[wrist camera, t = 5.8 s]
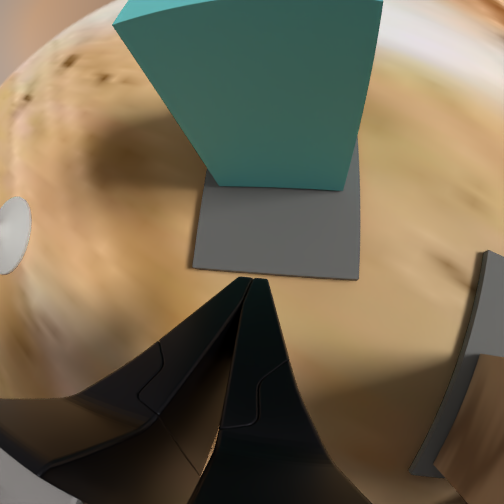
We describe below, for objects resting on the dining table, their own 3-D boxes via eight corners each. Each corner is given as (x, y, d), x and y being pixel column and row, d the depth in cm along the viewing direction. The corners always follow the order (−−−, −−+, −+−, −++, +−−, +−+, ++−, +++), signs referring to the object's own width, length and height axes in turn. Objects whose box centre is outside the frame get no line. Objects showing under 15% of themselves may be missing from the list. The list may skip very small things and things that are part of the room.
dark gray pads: (467, 564, 9) (469, 567, 8) (119, 165, 20) (115, 161, 20) (603, 406, 9) (607, 407, 8) (307, 31, 20) (307, 26, 20)
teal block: (342, 191, 16) (383, 1, 5) (219, 186, 18) (111, 24, 6) (339, 94, 18) (347, -72, 6) (234, 93, 19) (176, -59, 7)
